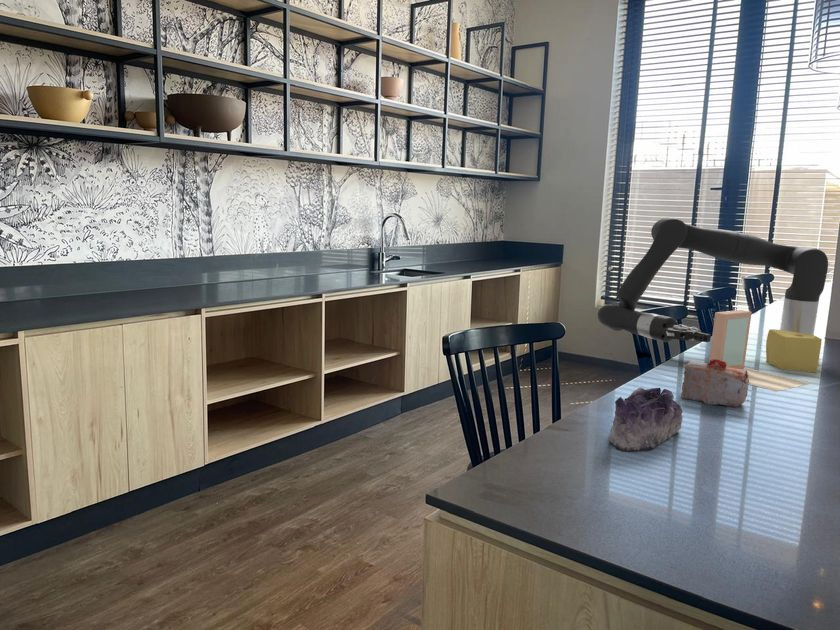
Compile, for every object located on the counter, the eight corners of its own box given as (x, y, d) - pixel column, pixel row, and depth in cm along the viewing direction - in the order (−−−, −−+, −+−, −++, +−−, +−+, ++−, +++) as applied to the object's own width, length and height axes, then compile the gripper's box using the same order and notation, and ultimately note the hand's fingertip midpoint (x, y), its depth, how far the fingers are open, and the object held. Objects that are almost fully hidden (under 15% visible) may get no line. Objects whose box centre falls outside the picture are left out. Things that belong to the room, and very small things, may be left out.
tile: (733, 366, 178) (741, 309, 176) (744, 368, 176) (751, 311, 173) (707, 370, 172) (715, 312, 169) (718, 373, 170) (726, 314, 167)
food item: (745, 402, 147) (751, 360, 145) (745, 411, 140) (751, 368, 138) (682, 392, 153) (686, 352, 151) (678, 400, 146) (683, 358, 144)
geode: (661, 463, 110) (658, 406, 108) (596, 453, 117) (593, 400, 115) (692, 428, 126) (690, 378, 124) (633, 421, 133) (631, 374, 131)
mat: (725, 364, 183) (726, 362, 182) (809, 385, 164) (810, 383, 163) (691, 370, 174) (691, 368, 174) (775, 393, 155) (776, 391, 155)
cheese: (800, 364, 187) (805, 330, 185) (818, 374, 177) (824, 338, 175) (763, 362, 188) (767, 328, 186) (779, 371, 177) (784, 336, 176)
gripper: (643, 316, 188) (696, 327, 174) (671, 313, 195) (724, 323, 181) (640, 341, 189) (692, 353, 175) (669, 337, 196) (721, 349, 182)
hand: (708, 338), depth 178 cm, fingers closed
